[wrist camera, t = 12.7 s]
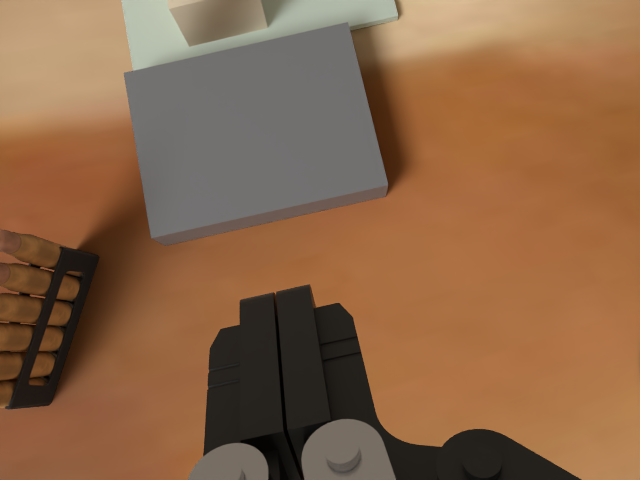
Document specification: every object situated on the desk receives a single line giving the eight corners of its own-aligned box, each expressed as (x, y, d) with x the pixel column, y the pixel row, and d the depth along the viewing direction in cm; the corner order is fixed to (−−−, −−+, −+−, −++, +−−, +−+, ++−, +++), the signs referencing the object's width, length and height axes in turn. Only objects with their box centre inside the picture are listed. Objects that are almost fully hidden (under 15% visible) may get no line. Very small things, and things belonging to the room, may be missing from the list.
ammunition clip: (50, 405, 40) (-74, 429, 28) (25, 398, 40) (-109, 419, 29) (99, 255, 42) (1, 219, 30) (75, 249, 42) (-32, 211, 30)
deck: (348, 43, 44) (347, 22, 41) (385, 196, 42) (388, 184, 39) (139, 91, 44) (123, 72, 41) (165, 245, 42) (151, 238, 39)
